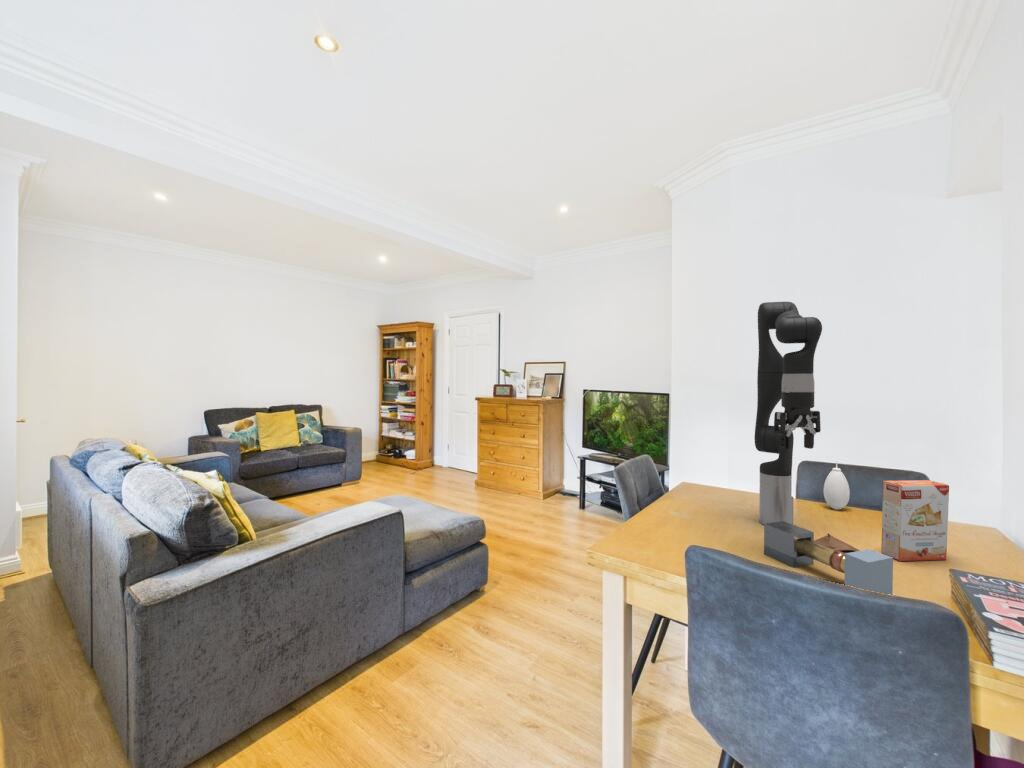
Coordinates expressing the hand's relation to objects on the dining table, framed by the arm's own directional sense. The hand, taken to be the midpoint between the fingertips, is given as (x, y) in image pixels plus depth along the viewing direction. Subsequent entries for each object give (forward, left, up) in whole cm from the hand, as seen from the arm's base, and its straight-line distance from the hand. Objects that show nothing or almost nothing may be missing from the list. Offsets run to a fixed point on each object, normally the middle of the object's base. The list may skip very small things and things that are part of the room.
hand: (797, 449), depth 117 cm
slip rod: (+3, +11, -27) cm, 30 cm away
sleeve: (+3, 0, -30) cm, 30 cm away
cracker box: (-31, +10, -30) cm, 44 cm away
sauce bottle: (-54, -27, -30) cm, 68 cm away
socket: (+3, +20, -30) cm, 36 cm away
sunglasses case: (-12, +3, -31) cm, 33 cm away
